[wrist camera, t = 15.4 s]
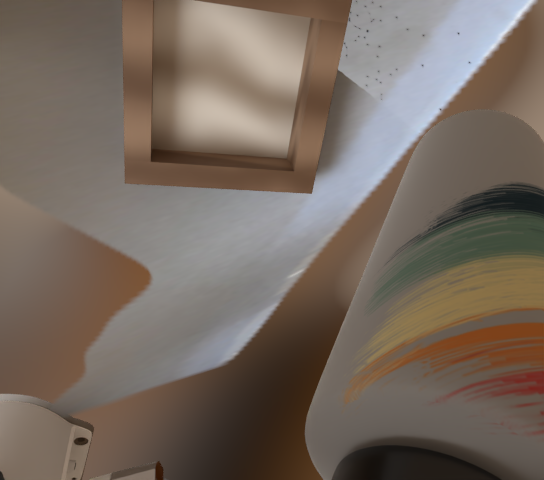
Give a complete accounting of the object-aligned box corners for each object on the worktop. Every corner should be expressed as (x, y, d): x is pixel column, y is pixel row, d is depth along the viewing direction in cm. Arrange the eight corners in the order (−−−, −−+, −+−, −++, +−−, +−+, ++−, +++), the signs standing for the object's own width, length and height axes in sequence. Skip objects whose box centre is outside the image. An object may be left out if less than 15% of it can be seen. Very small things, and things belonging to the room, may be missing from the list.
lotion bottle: (456, 241, 23) (351, 867, 8) (386, 154, 22) (114, 685, 7) (578, 184, 19) (811, 1145, 4) (501, 77, 18) (452, 846, 3)
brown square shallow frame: (302, 177, 44) (311, 193, 41) (128, 166, 40) (124, 183, 37) (338, -10, 36) (353, -7, 33) (125, -46, 32) (121, -46, 29)
